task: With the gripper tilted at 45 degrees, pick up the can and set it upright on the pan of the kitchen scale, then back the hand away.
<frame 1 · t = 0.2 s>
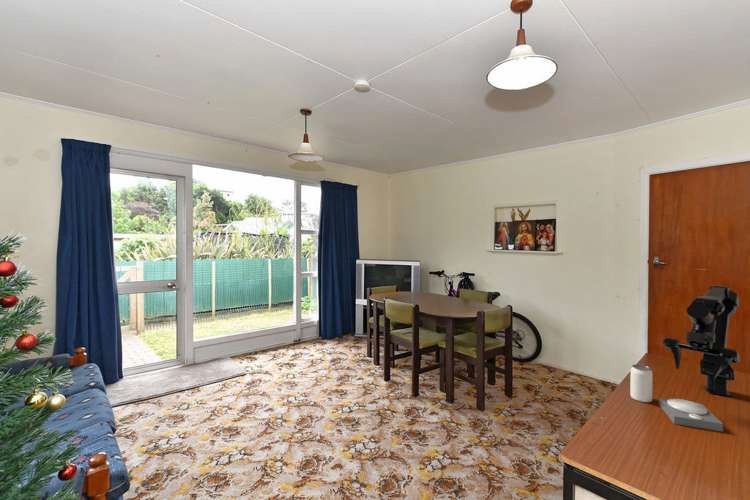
hand: (695, 373, 116), 15 cm above the table, tool tilted 35°, fingers open, 9 cm apart
scale: (688, 417, 115), on the table
can: (641, 399, 129), on the table
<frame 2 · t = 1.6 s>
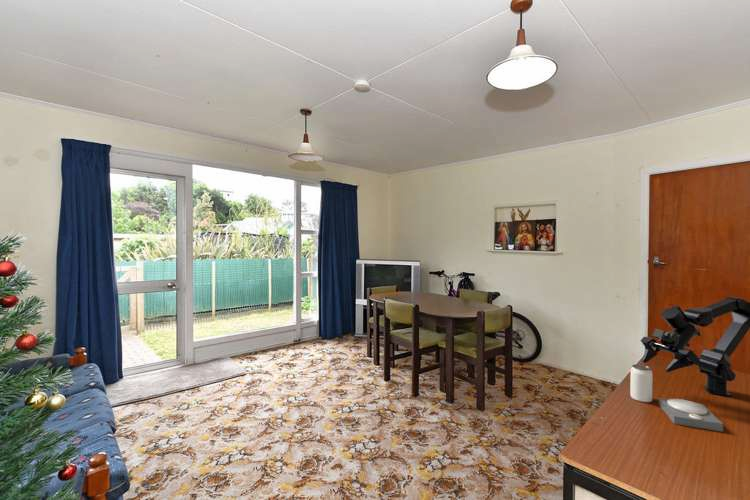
hand: (654, 366, 129), 12 cm above the table, tool tilted 45°, fingers open, 9 cm apart
nothing on the table moved.
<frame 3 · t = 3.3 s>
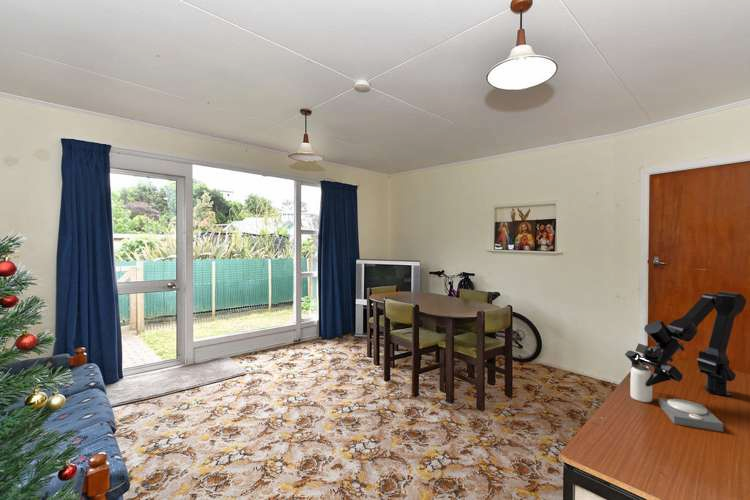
hand: (638, 381, 128), 7 cm above the table, tool tilted 45°, fingers closed on can, 6 cm apart
can: (641, 399, 129), on the table, touching gripper
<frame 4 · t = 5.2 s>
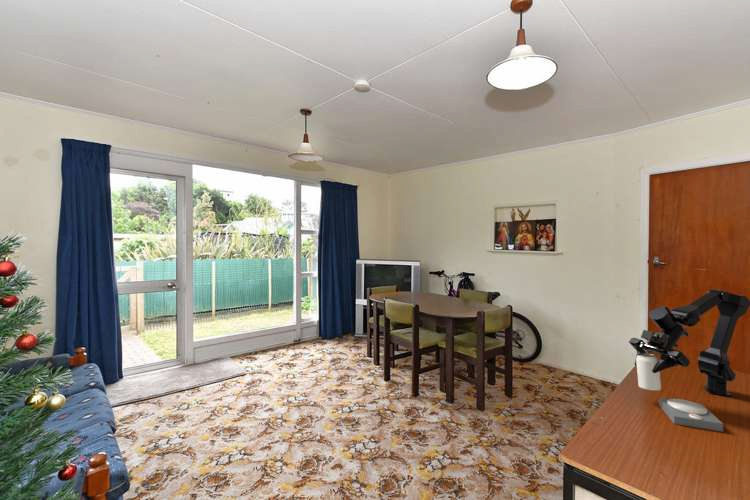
hand: (644, 368, 126), 12 cm above the table, tool tilted 45°, fingers closed on can, 6 cm apart
can: (649, 388, 126), point 5 cm above the table, touching gripper
when the fingers open (11 cm above the table, at t = 6.8 s): can stays where it is, resting on scale.
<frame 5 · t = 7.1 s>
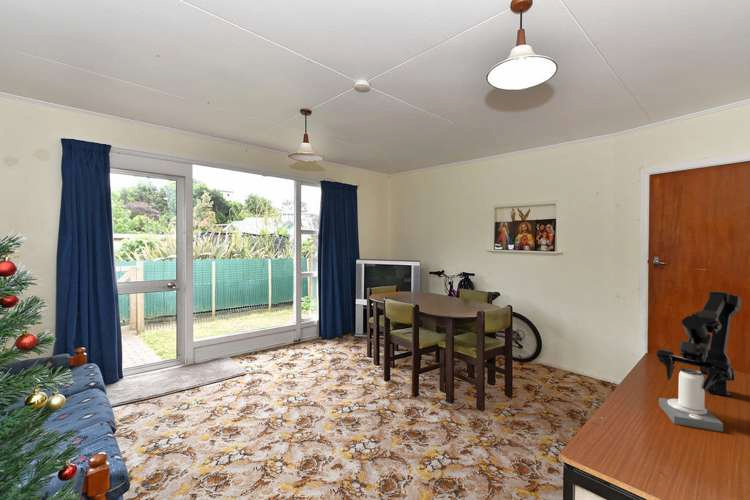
hand: (685, 384, 116), 11 cm above the table, tool tilted 45°, fingers open, 9 cm apart
can: (690, 407, 116), point 3 cm above the table, touching scale
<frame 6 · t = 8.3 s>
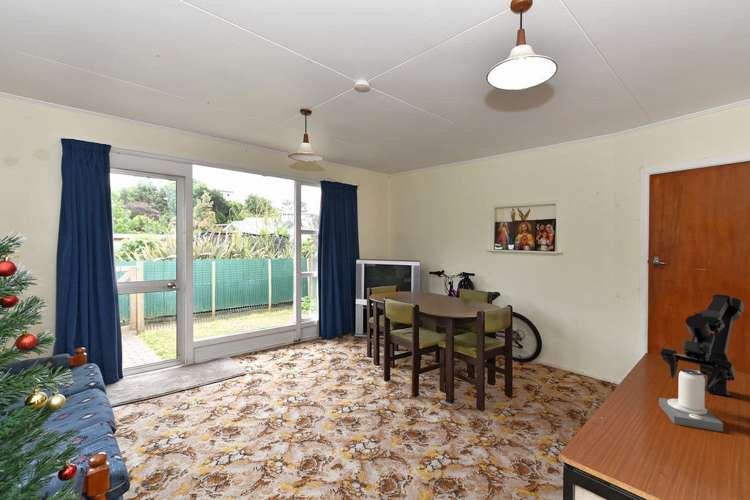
hand: (689, 382, 117), 11 cm above the table, tool tilted 45°, fingers open, 9 cm apart
nothing on the table moved.
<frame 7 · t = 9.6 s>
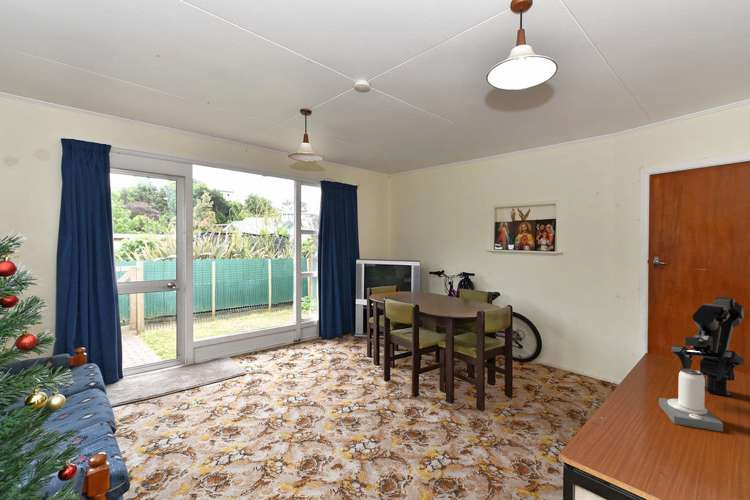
hand: (701, 377, 121), 11 cm above the table, tool tilted 35°, fingers open, 9 cm apart
nothing on the table moved.
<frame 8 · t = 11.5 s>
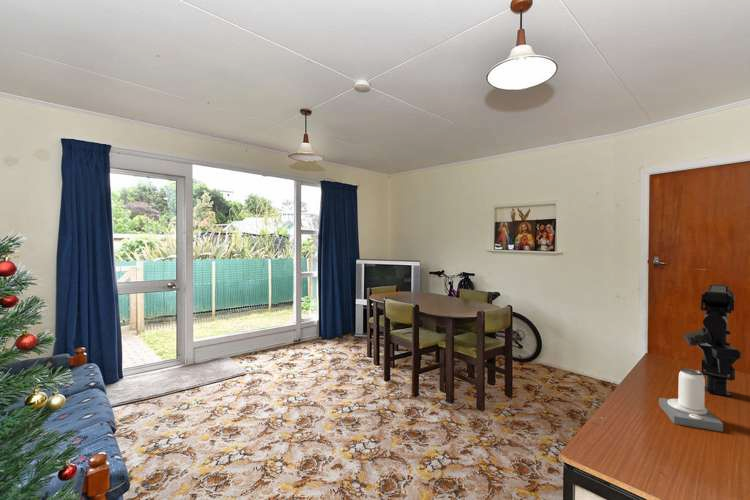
hand: (715, 369, 123), 13 cm above the table, tool pointing down, fingers open, 9 cm apart
nothing on the table moved.
at the end: can 1.1 cm from the target spot on the scale, point 3.1 cm above the scale's base; can tilted 0°; the gripper is holding nothing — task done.
